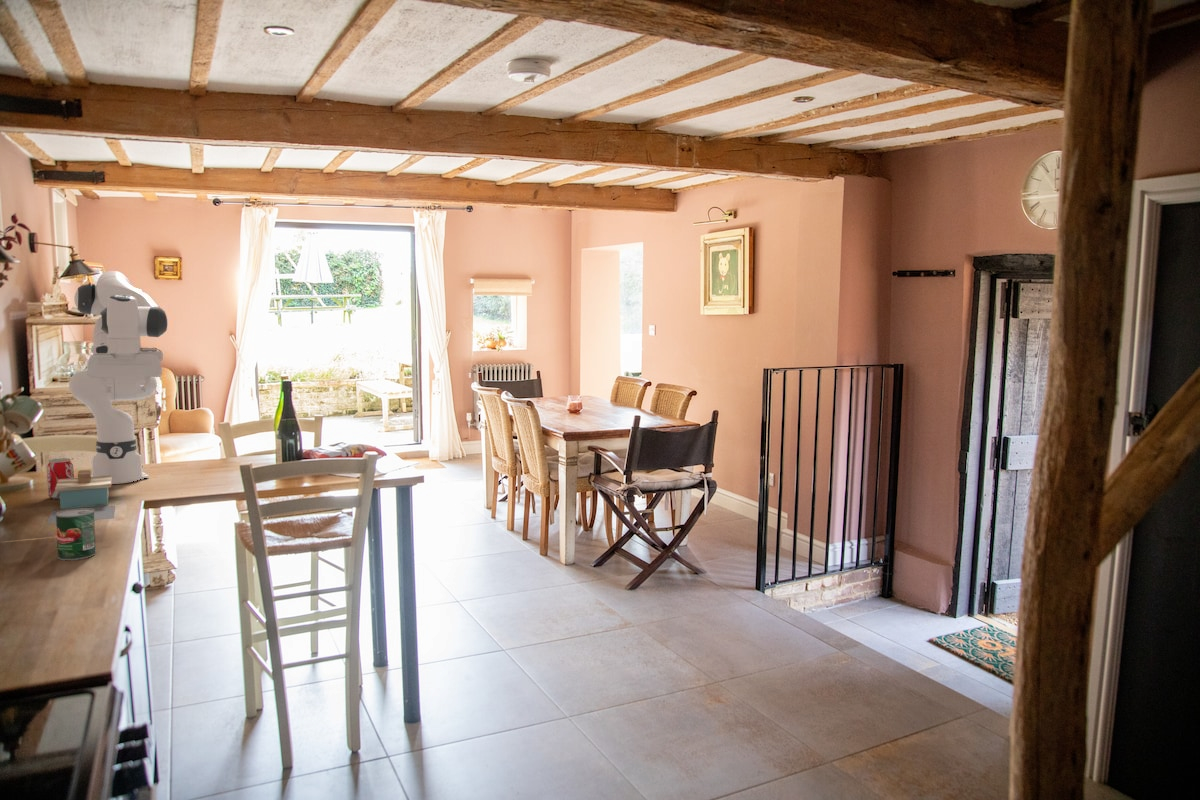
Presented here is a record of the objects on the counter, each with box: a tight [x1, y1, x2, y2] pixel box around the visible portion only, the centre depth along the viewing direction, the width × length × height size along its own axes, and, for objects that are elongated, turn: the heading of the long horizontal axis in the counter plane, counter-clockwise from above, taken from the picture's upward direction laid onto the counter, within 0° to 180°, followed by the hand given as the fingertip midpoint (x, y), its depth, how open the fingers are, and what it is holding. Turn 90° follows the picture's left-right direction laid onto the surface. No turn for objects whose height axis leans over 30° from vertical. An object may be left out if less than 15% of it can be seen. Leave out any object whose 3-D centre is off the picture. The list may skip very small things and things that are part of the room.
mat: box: [46, 505, 116, 525], centre depth 234 cm, size 16×16×1 cm
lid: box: [55, 469, 112, 491], centre depth 247 cm, size 14×14×4 cm
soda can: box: [46, 457, 75, 500], centre depth 255 cm, size 7×7×12 cm
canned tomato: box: [55, 507, 97, 561], centre depth 197 cm, size 8×8×11 cm
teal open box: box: [59, 487, 110, 510], centre depth 247 cm, size 12×12×6 cm
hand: (126, 392), depth 252 cm, fingers open, 8 cm apart
